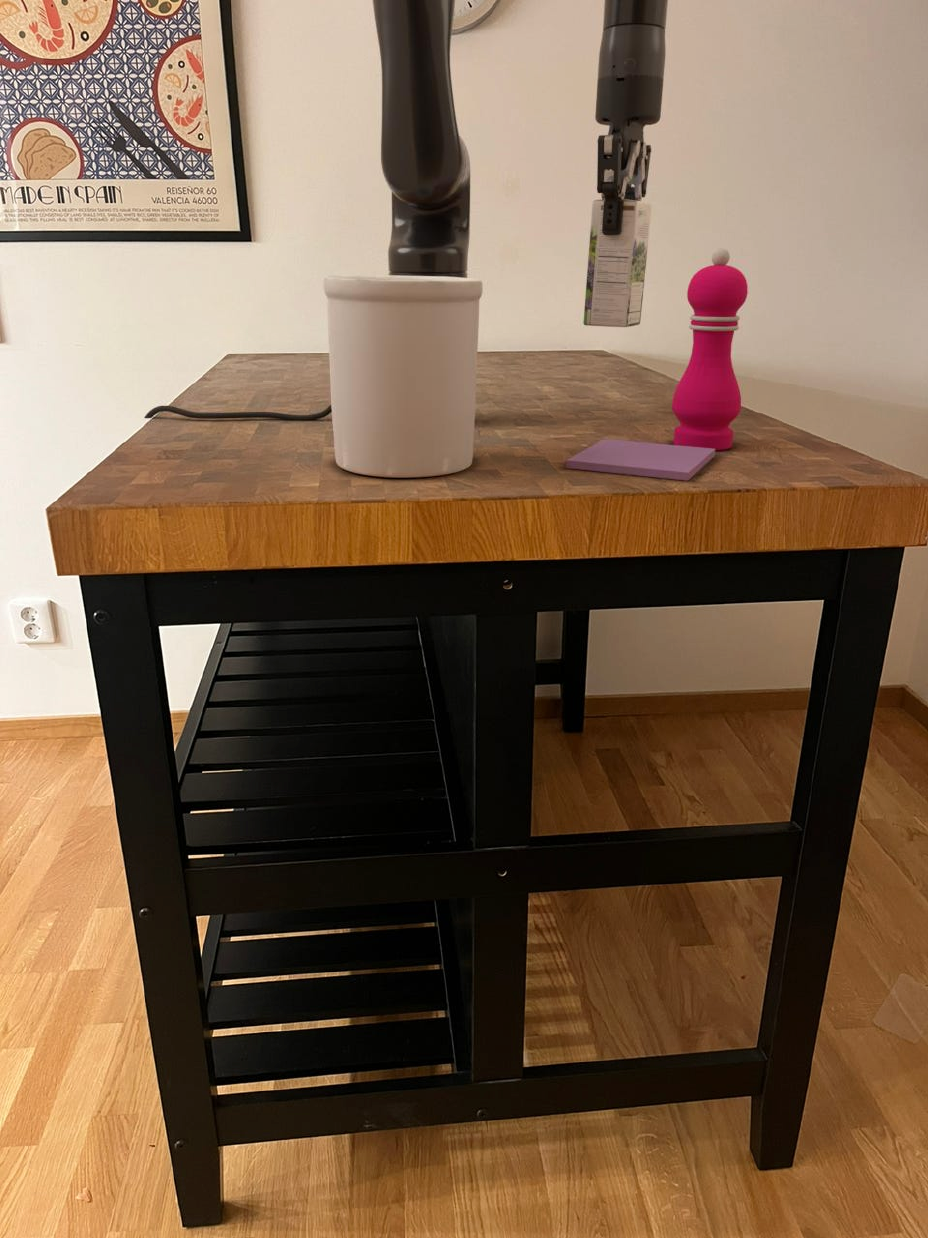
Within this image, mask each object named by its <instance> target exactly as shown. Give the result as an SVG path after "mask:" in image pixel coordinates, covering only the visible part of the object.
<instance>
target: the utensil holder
mask: <svg viewBox="0 0 928 1238" xmlns="http://www.w3.org/2000/svg"><path fill="white" fill-rule="evenodd" d="M322 281H323V285H322V286H323V292H324V294H325V296H326V300H327V301H326V303H327V304H326V307H327V308H326V309H327V332H328V333H327V335H328V336H327V337H328V338H327V339H328V359H329V360H328V361H329V383H330V385H329V386H330V387H329V388H330V405H331V407H332V412H331V420H332V431H333V432H332V433H333V446H334V458H335V463H336V465H337V466H338V467H339V468H340V469H343V470H345V471H347V472H350V473H353V474H358V475H363V476H370V477H371V476H372V477H379V478H380V477H381V478H394V479H395V478H397V479H398V478H399V479H400V478H401V479H402V478H404V479H406V478H407V479H409V478H426V477H427V478H429V477H436V476H437V477H438V476H445V475H451V474H455V473H458V472H462V471H465V470H467V469H468V468H469V467H471V466H472V464H473V457H474V456H473V455H474V437H475V423H476V422H475V420H476V400H477V371H478V348H479V326H480V325H479V323H480V299H481V297H482V295H483V280H482V279H480V278H471V277H467V278H460V277H445V276H397V275H389V274H388V275H387V274H386V275H381V274H378V275H376V274H375V275H373V274H370V275H369V274H348V275H347V274H344V275H339V274H338V275H326V276H324V277H323V280H322Z"/></svg>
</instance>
